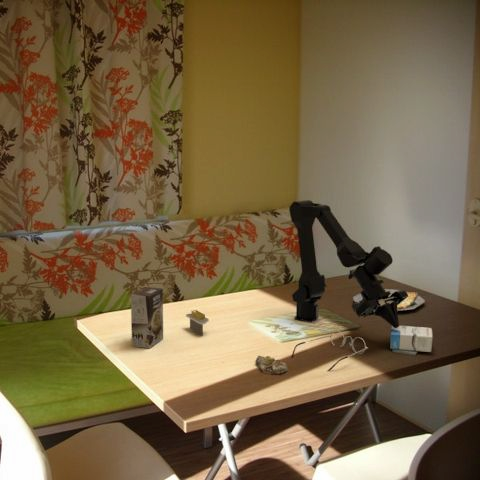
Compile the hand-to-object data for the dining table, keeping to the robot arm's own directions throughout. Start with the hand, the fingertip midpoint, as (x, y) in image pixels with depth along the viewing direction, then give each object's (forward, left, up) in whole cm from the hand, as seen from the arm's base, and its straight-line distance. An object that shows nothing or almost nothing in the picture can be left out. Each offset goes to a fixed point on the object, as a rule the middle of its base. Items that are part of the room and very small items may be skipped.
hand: (397, 327), depth 204 cm
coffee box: (-68, -27, -7) cm, 74 cm away
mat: (+3, +2, -7) cm, 8 cm away
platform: (-59, -12, -7) cm, 61 cm away
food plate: (-12, +45, -7) cm, 47 cm away
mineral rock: (-28, -29, -7) cm, 41 cm away
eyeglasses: (-16, -14, -7) cm, 22 cm away
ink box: (-2, +2, -4) cm, 5 cm away
